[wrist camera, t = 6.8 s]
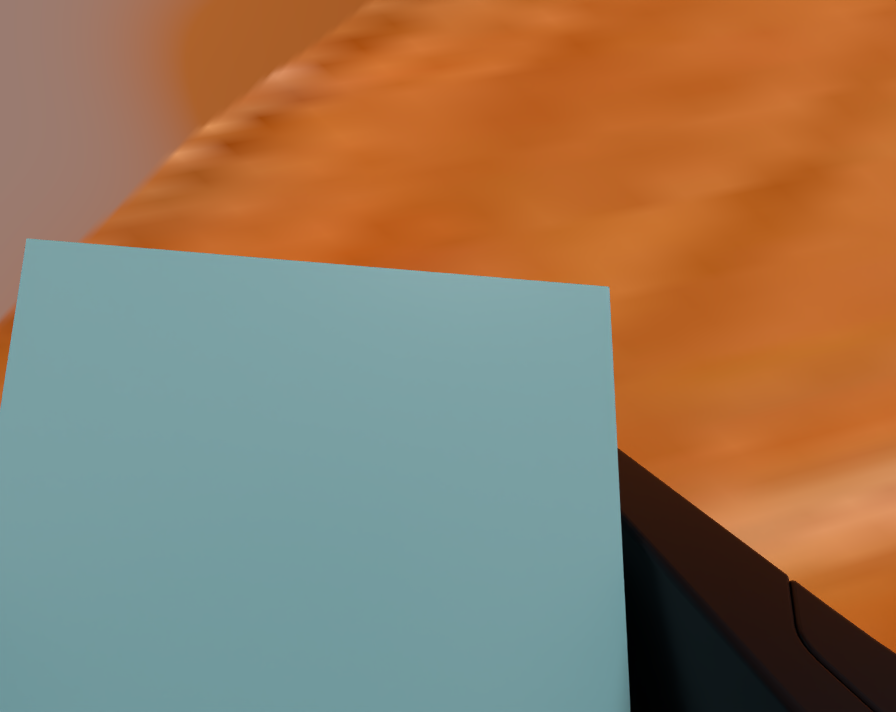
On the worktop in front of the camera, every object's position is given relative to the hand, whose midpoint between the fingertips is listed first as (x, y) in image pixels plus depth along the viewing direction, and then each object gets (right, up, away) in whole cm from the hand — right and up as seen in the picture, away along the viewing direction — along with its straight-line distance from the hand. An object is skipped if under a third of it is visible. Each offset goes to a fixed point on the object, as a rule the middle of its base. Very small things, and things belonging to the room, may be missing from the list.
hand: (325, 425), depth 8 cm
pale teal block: (-1, -3, +6) cm, 7 cm away
